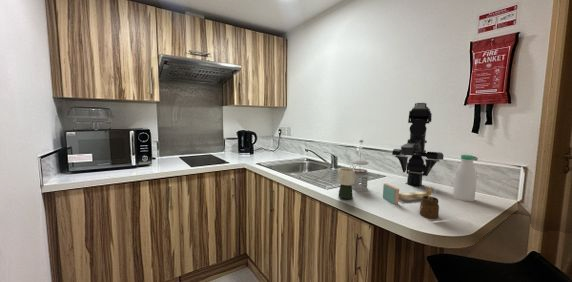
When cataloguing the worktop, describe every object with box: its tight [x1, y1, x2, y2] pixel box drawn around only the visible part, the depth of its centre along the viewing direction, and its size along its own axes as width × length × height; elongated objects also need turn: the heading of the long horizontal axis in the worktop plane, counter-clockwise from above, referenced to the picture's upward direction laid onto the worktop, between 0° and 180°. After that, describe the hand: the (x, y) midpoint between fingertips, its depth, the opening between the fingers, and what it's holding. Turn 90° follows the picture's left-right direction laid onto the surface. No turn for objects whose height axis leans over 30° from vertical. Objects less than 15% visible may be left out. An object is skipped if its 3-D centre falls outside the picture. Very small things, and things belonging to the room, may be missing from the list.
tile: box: [382, 183, 400, 205], centre depth 99 cm, size 2×8×7 cm, turn 13°
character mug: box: [337, 167, 355, 200], centre depth 103 cm, size 11×7×13 cm, turn 141°
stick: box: [399, 191, 428, 201], centre depth 102 cm, size 14×2×2 cm, turn 103°
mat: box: [398, 199, 422, 204], centre depth 102 cm, size 18×8×1 cm, turn 103°
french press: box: [349, 139, 369, 192], centre depth 114 cm, size 10×12×25 cm
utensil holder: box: [419, 185, 440, 220], centre depth 84 cm, size 6×6×12 cm
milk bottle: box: [452, 154, 478, 203], centre depth 103 cm, size 8×8×20 cm
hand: (414, 174), depth 98 cm, fingers open, 9 cm apart
